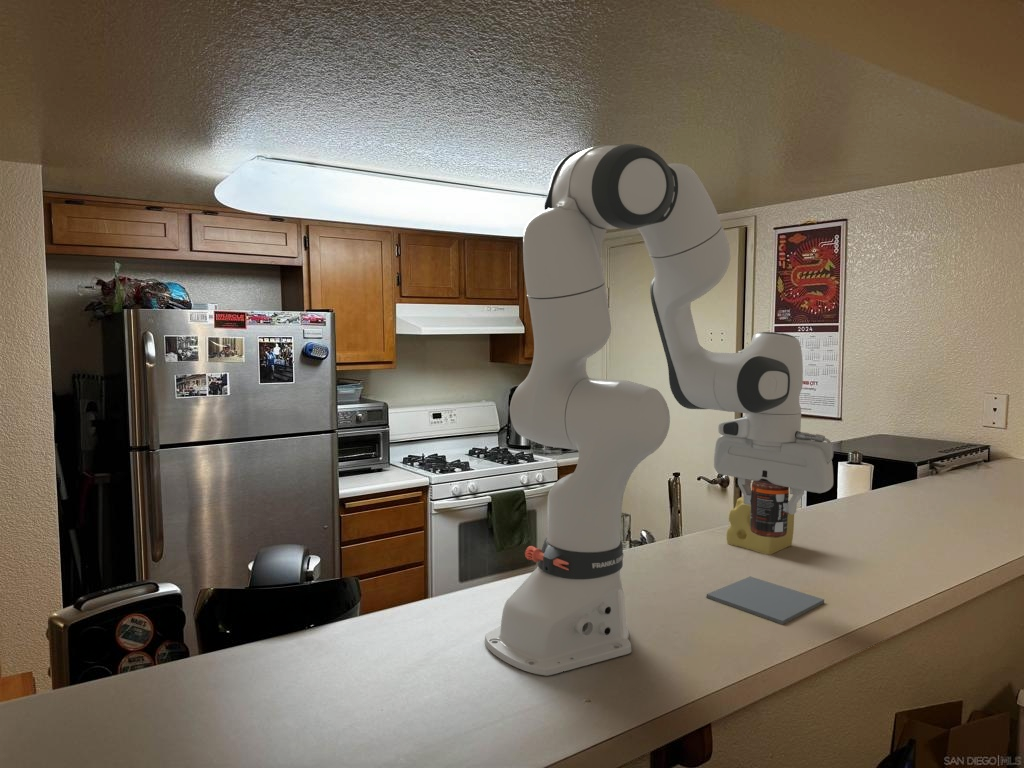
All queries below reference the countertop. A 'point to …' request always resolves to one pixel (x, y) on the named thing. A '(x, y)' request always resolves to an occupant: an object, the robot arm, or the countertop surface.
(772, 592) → the mat
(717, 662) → the countertop surface
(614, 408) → the robot arm
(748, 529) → the cheese
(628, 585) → the countertop surface
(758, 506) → the supplement bottle
